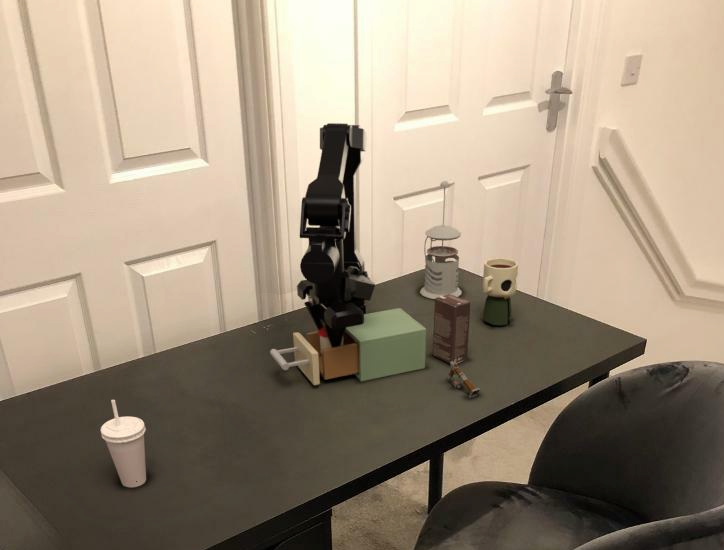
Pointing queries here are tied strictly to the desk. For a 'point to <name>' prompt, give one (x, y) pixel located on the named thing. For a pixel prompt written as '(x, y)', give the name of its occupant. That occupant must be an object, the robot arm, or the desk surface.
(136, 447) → the smoothie
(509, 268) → the character mug
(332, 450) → the desk surface
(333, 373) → the pod drawer
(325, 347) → the cylinder
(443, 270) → the french press
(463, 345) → the box
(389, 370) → the green drawer cabinet
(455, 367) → the wooden post with brackets
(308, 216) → the robot arm
